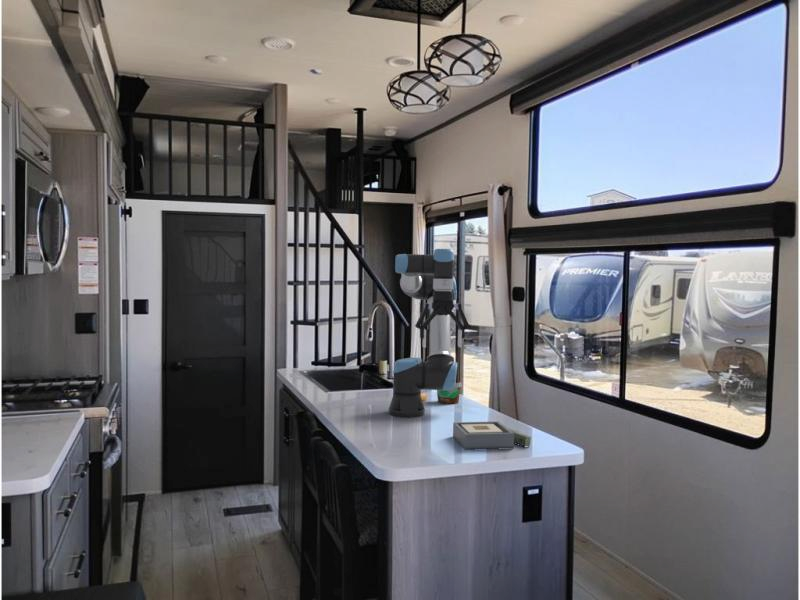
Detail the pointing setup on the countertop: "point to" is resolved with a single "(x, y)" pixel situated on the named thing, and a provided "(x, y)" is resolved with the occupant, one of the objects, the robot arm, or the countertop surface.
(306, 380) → the countertop surface
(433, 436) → the countertop surface
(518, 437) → the medication box
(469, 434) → the box
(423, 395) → the peg
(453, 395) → the food container
